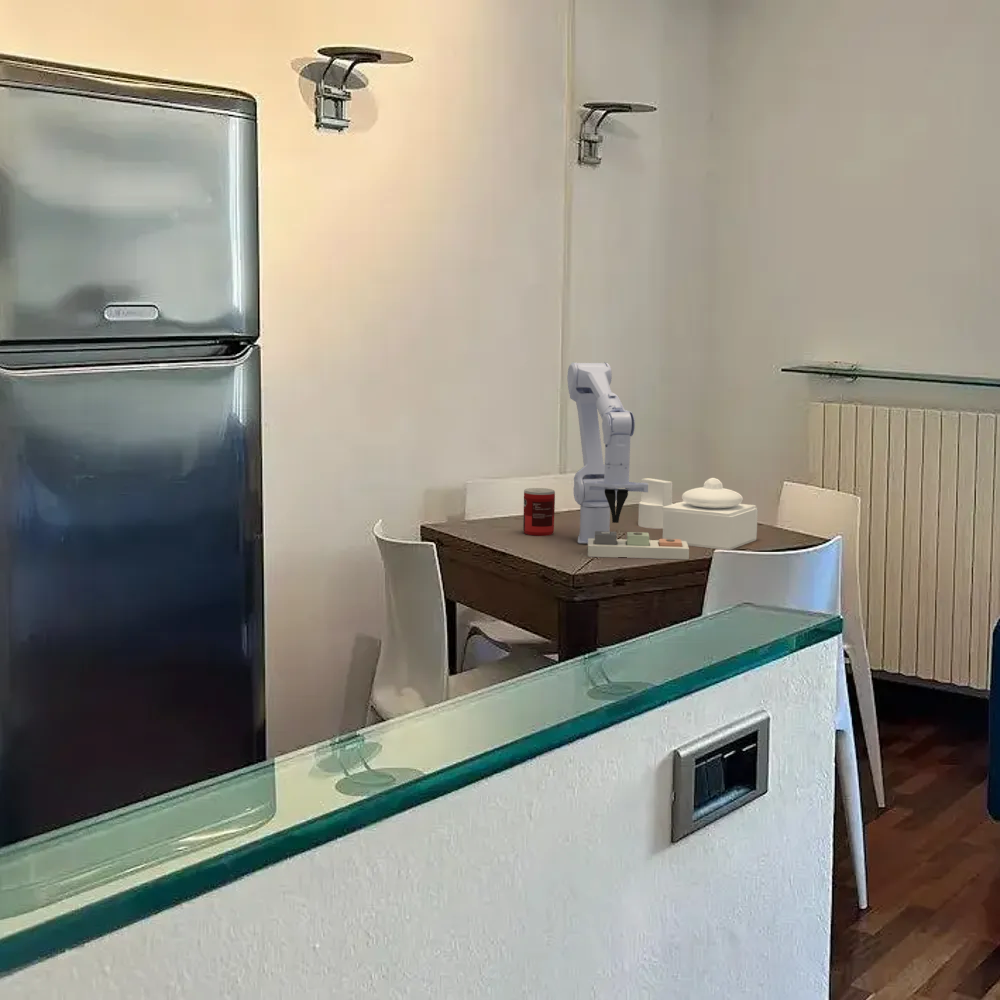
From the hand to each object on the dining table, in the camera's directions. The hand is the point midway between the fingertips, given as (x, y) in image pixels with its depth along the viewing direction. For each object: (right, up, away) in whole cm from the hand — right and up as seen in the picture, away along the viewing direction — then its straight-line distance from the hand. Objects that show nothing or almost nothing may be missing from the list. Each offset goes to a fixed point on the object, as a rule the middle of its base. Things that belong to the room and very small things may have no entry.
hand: (615, 522), depth 317 cm
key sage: (+5, -6, 0) cm, 8 cm away
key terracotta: (+13, -8, 0) cm, 15 cm away
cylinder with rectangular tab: (+14, -2, +42) cm, 44 cm away
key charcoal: (-2, -6, +1) cm, 6 cm away
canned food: (-17, -4, +27) cm, 32 cm away
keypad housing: (+5, -7, +1) cm, 9 cm away
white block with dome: (+25, -5, +20) cm, 32 cm away
